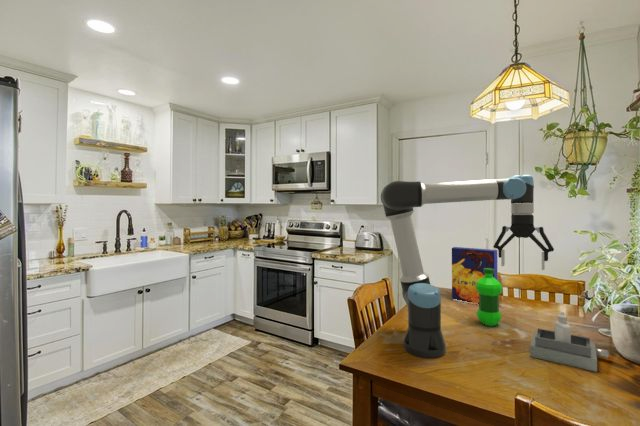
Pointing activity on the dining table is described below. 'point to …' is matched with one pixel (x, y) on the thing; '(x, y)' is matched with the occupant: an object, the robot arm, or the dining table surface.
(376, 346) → the dining table surface
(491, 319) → the plastic bottle
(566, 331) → the eye dropper bottle
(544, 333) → the grey rectangular open box
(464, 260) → the cereal box
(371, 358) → the dining table surface
